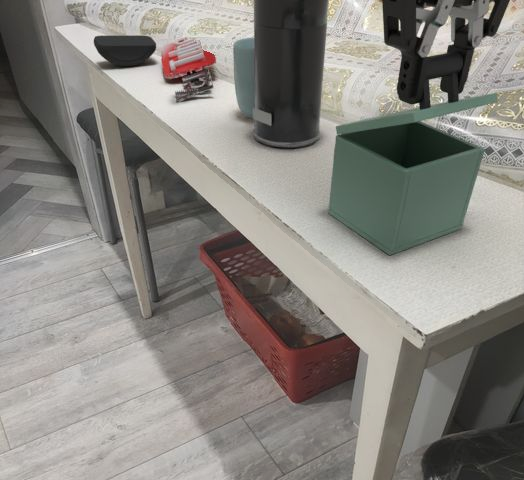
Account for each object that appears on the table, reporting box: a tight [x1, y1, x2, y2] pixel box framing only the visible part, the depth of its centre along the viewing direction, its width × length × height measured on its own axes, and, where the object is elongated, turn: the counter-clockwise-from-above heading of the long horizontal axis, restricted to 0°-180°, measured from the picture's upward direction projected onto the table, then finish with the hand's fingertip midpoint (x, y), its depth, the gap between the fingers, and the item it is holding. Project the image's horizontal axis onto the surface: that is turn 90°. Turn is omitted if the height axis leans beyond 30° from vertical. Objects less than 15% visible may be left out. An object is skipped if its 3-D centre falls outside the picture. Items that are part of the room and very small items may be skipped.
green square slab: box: [335, 52, 498, 135], centre depth 48 cm, size 11×10×5 cm
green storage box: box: [328, 121, 486, 256], centre depth 54 cm, size 10×10×9 cm
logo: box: [160, 36, 218, 103], centre depth 93 cm, size 25×2×10 cm
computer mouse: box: [93, 35, 157, 67], centre depth 101 cm, size 6×11×4 cm, turn 112°
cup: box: [232, 36, 255, 120], centre depth 77 cm, size 8×8×10 cm
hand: (430, 96), depth 47 cm, fingers closed on green square slab, 4 cm apart
